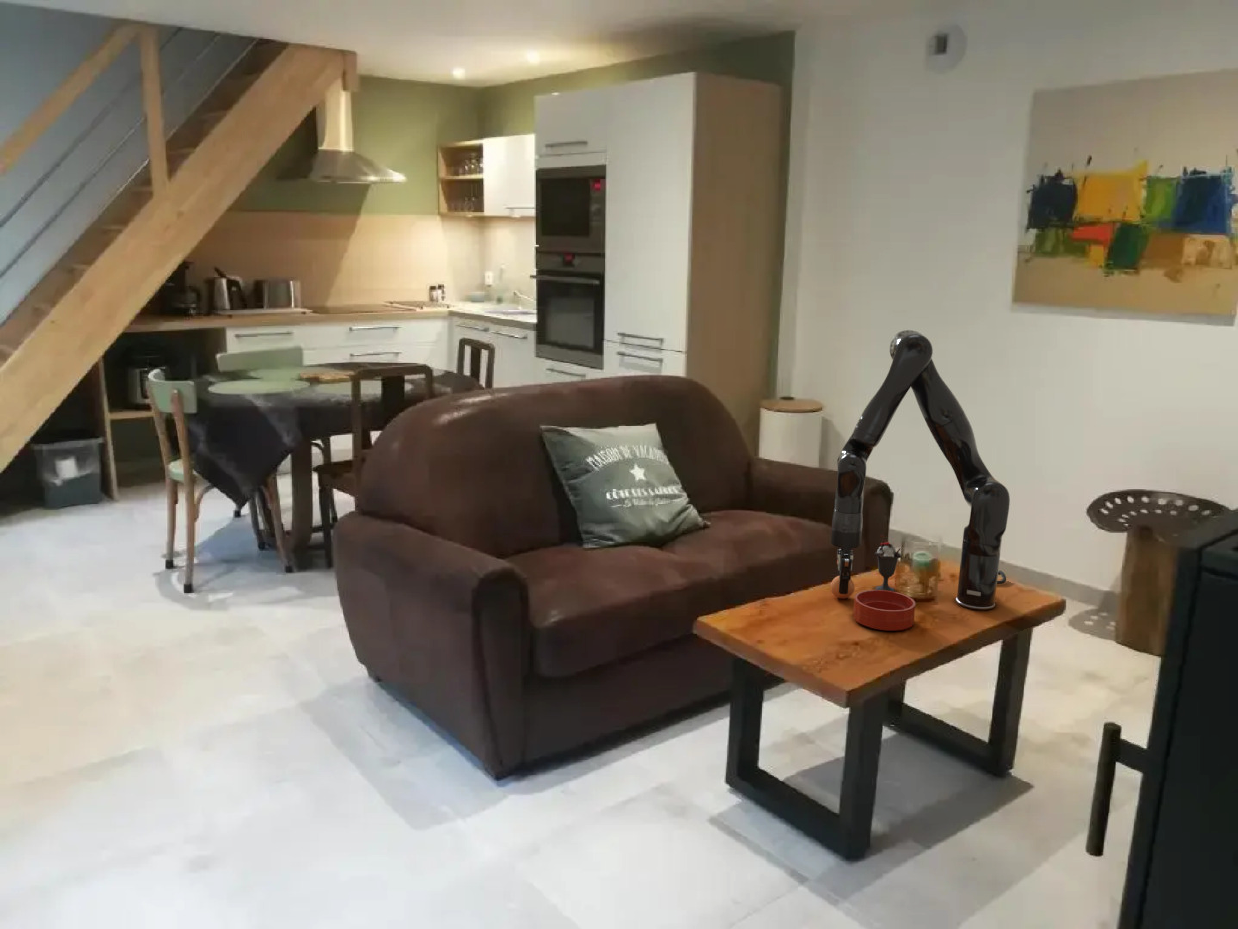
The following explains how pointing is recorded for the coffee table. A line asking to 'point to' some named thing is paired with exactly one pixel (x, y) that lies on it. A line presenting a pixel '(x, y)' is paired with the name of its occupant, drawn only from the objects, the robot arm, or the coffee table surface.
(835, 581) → the peach
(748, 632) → the coffee table surface
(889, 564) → the sundae
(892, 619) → the bowl
